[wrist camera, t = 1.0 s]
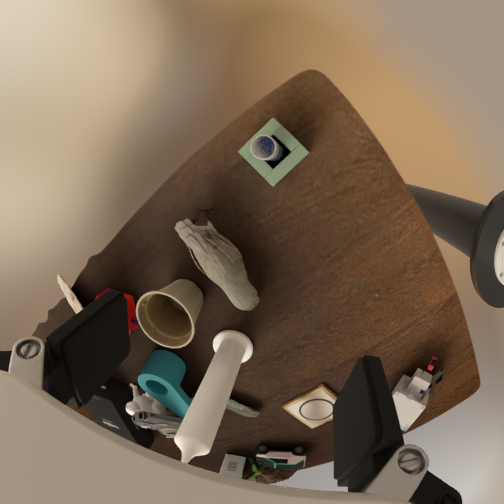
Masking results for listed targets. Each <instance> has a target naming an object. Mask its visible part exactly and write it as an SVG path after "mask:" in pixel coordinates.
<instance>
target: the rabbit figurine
mask: <svg viewBox="0 0 504 504" xmlns="http://www.w3.org/2000/svg"><path fill="white" fill-rule="evenodd" d="M129 385H130V386H131V387H132V388H133V395H134V399H133V401H131V402H128V403H127V404H126V411H127V412H128V413H129V414H130V415H133V414H135V412H137V411H148V412H152V413H156V414H167V411H166V407H165V406H164V405H163V404H161V403H160V402H159V401H157V400H156V399H154V398H153V397H152V396H151V395H149V394H148V393H147V392H145V393H146V394H144V393H143V394H142V396H140V395H139V392H138V390H137V387H138V386H137V387H136V385H135V386H134V385H133V384H132V383H131V384H129ZM141 427H142V428H150V427H147V426H141Z"/></svg>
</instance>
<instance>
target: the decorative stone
mask: <svg viewBox="0 0 504 504" xmlns="http://www.w3.org/2000/svg"><path fill="white" fill-rule="evenodd" d="M57 279H58V282H59V284H60V286H61V289H62V290H63V292H64V294H65V296H66V298H67V300H68V302H69V304H70V305H71V307H72V308H73V310H74V311H75V313H76V314H77V313H78V312H80V311H81V310H82V309H84V308H83V307H82V305H81V303H80V302H79V301H78V299H77V297H76V296H75V294H74V293H73V292H72V290H71V288H70V287H69V285H68V284H67V283H66V282H65V281H64V279H63V278H62V277H61V276H60V275H58V278H57Z"/></svg>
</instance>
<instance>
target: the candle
mask: <svg viewBox="0 0 504 504" xmlns="http://www.w3.org/2000/svg"><path fill="white" fill-rule="evenodd" d="M213 348H214V351H215V352H216V353H215V355H214V357H213V360H212V362H211V364H210V366H209V368H208V370H207V372H206V374H205V376H204V378H203V380H202V382H201V384H200V386H199V388H198V391H197V393H196V395H195V397H194V399H193V401H192V403H191V405H190V407H189V409H188V411H187V413H186V415H185V417H184V419H183V421H182V423H181V425H180V427H179V429H178V431H177V433H176V435H175V438H174V440H175V443H176V444H177V446H178V447H179V448H180V450H181V451H182V459H181V462H183V463H186V464H187V463H188V462H189V461H190V460H191V459H192V458H193V457H194V456H200V455H206V454H208V453H209V452H210V449H211V446H212V444H213V441H214V438H215V436H216V433H217V430H218V427H219V425H220V422H221V419H222V416H223V414H224V411H225V408H226V405H227V402H228V400H229V397H230V394H231V391H232V388H233V385H234V382H235V380H236V377H237V374H238V371H239V368H240V365H241V363H243V362H245V361H247V360H248V359H249V358H250V357H251V356H252V353H253V345H252V342H251V341H250V339H249V338H248V337H247V336H246V335H244V334H243V333H241V332H238V331H235V330H225V331H222V332H220V333H218V334H217V335H216V336H215V338H214V341H213Z"/></svg>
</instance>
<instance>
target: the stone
mask: <svg viewBox="0 0 504 504" xmlns="http://www.w3.org/2000/svg"><path fill="white" fill-rule="evenodd" d="M226 409H229V410H231V411H234V412H236V413H238V414H240V415H243V416H247V417H257V416H258V415H259V414H260V411H257V410H255V409H253V408H251V407H248V406H245V405H242V404H239V403H237V402H235V401H234V400H231V399H229V400H228V402H227V405H226Z"/></svg>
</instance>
